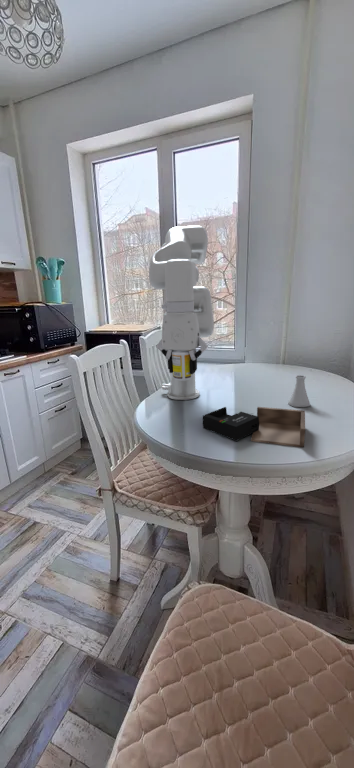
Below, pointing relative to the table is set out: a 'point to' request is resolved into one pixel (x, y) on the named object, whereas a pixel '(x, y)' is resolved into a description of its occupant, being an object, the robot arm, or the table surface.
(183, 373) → the supplement bottle
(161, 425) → the table surface
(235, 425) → the battery charger
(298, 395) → the flask
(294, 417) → the corner arena
